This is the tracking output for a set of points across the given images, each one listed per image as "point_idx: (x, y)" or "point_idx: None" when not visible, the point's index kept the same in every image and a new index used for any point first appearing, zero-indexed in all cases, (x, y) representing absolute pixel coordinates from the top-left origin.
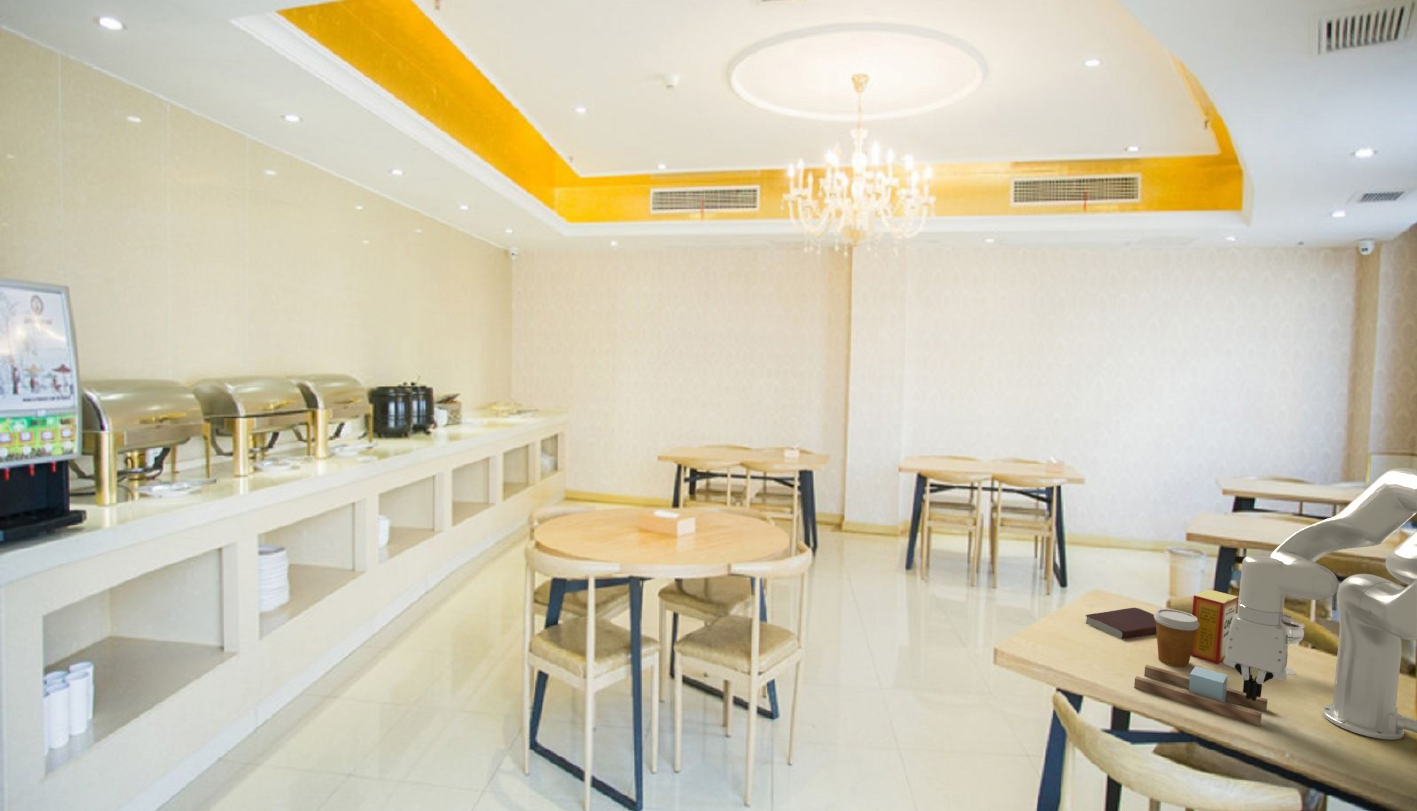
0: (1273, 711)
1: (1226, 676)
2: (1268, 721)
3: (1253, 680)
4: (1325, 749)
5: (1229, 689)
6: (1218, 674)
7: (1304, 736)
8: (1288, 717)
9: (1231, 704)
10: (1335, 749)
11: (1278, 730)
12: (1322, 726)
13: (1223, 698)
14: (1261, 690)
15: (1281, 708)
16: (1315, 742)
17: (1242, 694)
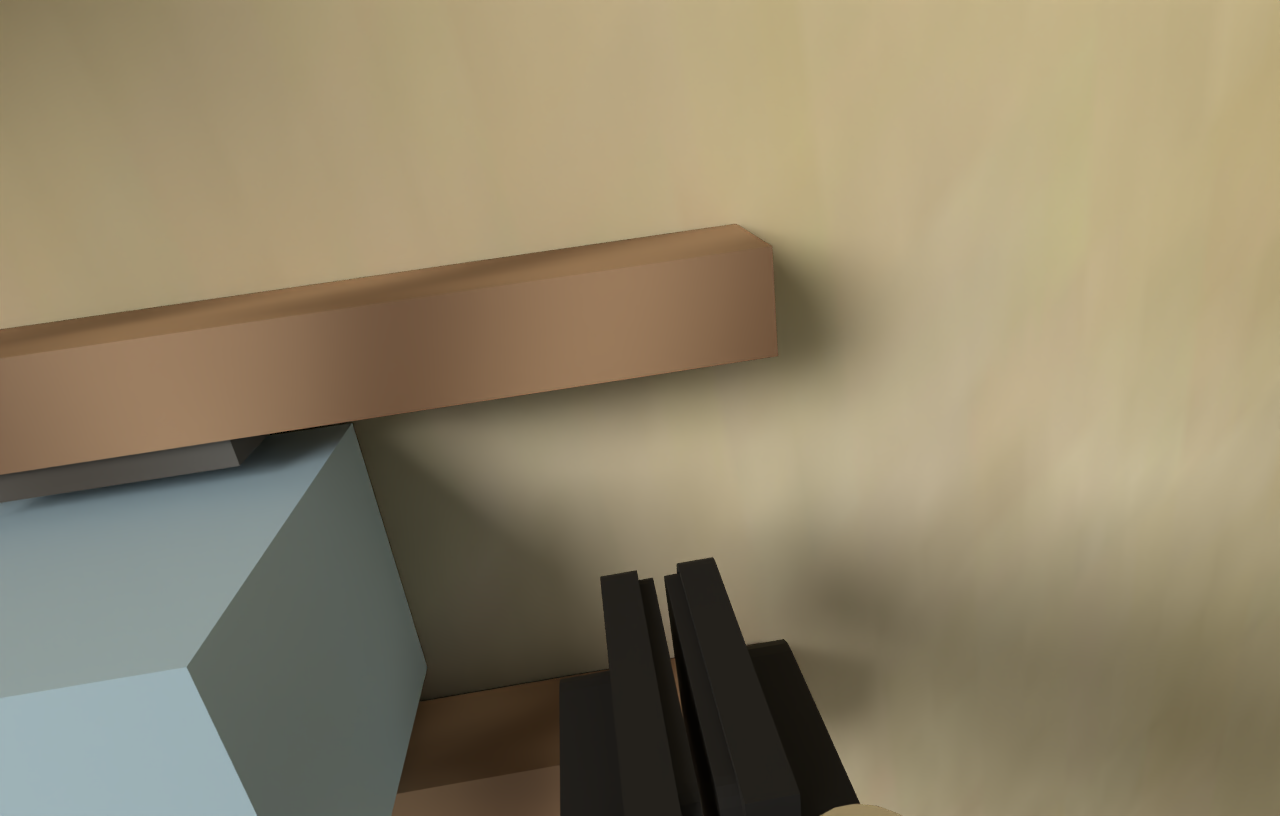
0: (805, 227)
1: (220, 746)
2: (807, 540)
3: (693, 768)
4: (1203, 662)
5: (298, 369)
6: (84, 781)
7: (1080, 575)
8: (952, 257)
9: (520, 771)
10: (1273, 602)
11: (899, 643)
12: (1255, 180)
13: (377, 632)
14: (806, 691)
15: (865, 18)
16: (1149, 610)
17: (486, 389)
